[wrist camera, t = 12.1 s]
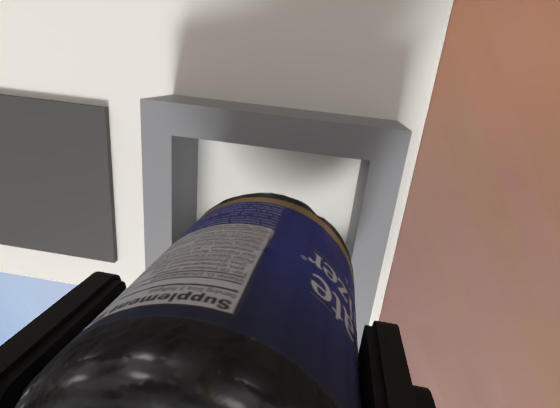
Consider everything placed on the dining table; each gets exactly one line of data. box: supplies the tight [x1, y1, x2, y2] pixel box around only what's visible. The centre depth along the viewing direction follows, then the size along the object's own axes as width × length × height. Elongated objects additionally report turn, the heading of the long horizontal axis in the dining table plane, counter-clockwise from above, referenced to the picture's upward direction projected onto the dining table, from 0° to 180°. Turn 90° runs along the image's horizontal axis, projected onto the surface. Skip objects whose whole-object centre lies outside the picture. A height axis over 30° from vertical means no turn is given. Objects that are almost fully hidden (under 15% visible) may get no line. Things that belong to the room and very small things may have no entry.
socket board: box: [0, 0, 453, 353], centre depth 17 cm, size 24×16×4 cm, turn 84°
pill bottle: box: [15, 193, 362, 408], centre depth 8 cm, size 6×6×11 cm
